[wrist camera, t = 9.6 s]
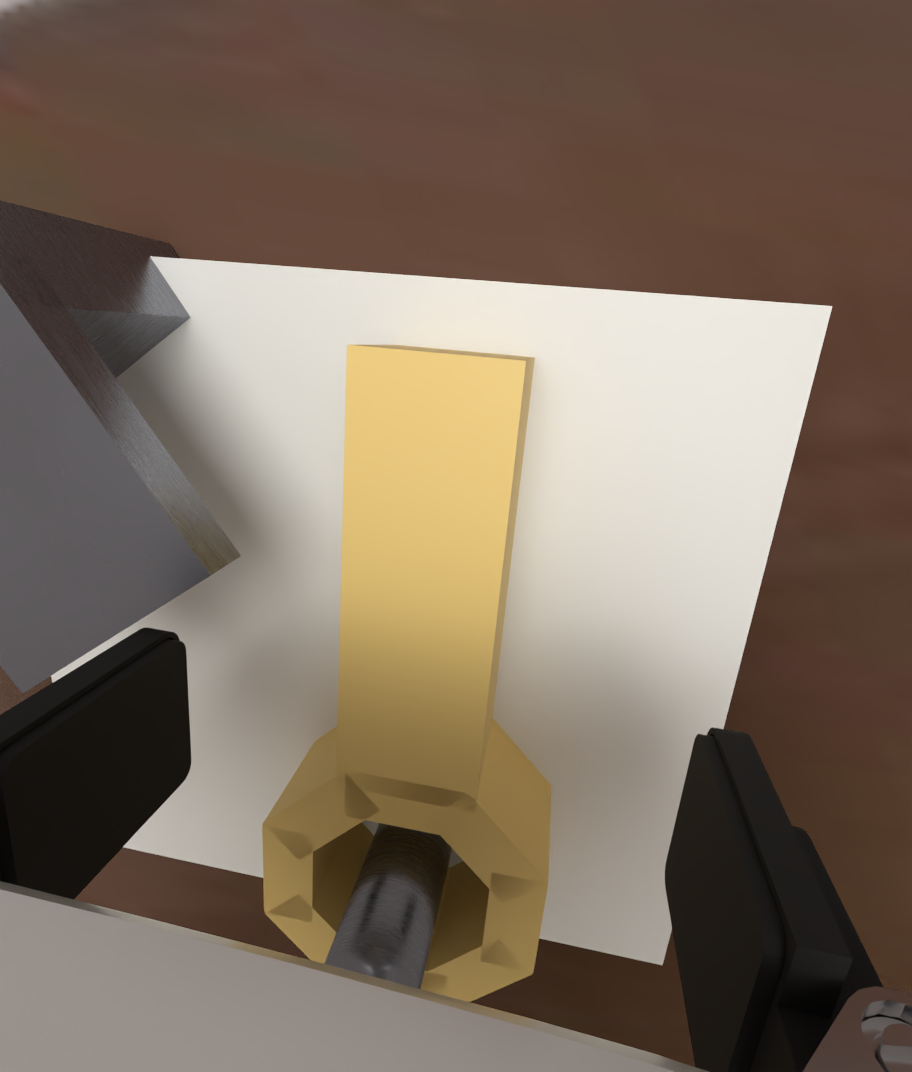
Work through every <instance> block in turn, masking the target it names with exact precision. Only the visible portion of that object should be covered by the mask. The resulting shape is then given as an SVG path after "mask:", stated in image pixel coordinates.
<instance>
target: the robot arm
mask: <svg viewBox="0 0 912 1072" xmlns="http://www.w3.org/2000/svg"><path fill="white" fill-rule="evenodd" d="M190 767H191V741H190V720H189V699H188V678H187V657H186V646H185V644H184V643H183V642H182V641H180V639H179V637H178V635H177V634H176V633H174V632H170V631H164V630H159V629H153V628H142V629H140V630H138V631H136V632H135V633H133V634H131V635H130V636H128V637H127V638H125V639H123V640H122V641H120V642H118V643H117V644H115V645H114V646H112V647H110V648H109V649H107V650H105V651H104V652H102V653H101V654H99V655H97V656H96V657H94V658H92V659H91V660H89V661H87V662H86V663H84V664H83V665H81V666H79V667H78V668H76V669H74V670H73V671H71V672H70V673H68V674H66V675H65V676H63V677H61V678H60V679H58V680H57V681H55V682H53V683H52V684H50V685H48V686H47V687H45V688H44V689H42V690H40V691H39V692H37V693H35V694H34V695H32V696H31V697H29V698H27V699H26V700H24V701H22V702H21V703H19V704H17V705H16V706H14V707H13V708H11V709H9V710H8V711H6V712H4V713H3V714H1V715H0V1072H912V996H911V995H908V994H906V993H903V992H901V991H898V990H895V989H889V988H883V986H882V984H881V982H880V980H879V978H878V976H877V973H876V971H875V969H874V967H873V965H872V963H871V961H870V959H869V957H868V955H867V953H866V951H865V949H864V947H863V945H862V943H861V941H860V939H859V937H858V935H857V933H856V931H855V929H854V926H853V924H852V922H851V920H850V918H849V916H848V914H847V912H846V910H845V908H844V906H843V904H842V902H841V900H840V898H839V896H838V894H837V892H836V890H835V888H834V886H833V884H832V882H831V880H830V877H829V875H828V873H827V871H826V869H825V867H824V865H823V863H822V861H821V859H820V857H819V855H818V853H817V851H816V849H815V847H814V845H813V843H812V841H811V839H810V837H809V836H808V834H807V833H806V831H804V830H803V829H801V828H798V827H793V826H791V823H790V821H789V819H788V817H787V815H786V813H785V810H784V808H783V806H782V804H781V802H780V800H779V797H778V795H777V793H776V791H775V789H774V787H773V784H772V782H771V780H770V778H769V776H768V774H767V772H766V769H765V767H764V765H763V763H762V761H761V759H760V756H759V754H758V752H757V750H756V748H755V746H754V743H753V741H752V739H751V737H750V736H749V734H746V733H742V732H736V731H730V730H725V729H719V728H713V727H712V728H710V729H709V731H708V733H707V735H702V734H697V736H696V737H695V740H694V744H693V748H692V753H691V757H690V761H689V765H688V770H687V774H686V778H685V783H684V787H683V791H682V795H681V800H680V804H679V808H678V812H677V817H676V821H675V825H674V830H673V834H672V838H671V842H670V847H669V851H668V855H667V860H666V865H665V888H666V894H667V900H668V906H669V912H670V918H671V924H672V930H673V936H674V942H675V948H676V954H677V960H678V966H679V972H680V977H681V983H682V989H683V995H684V1001H685V1007H686V1013H687V1019H688V1025H689V1031H690V1037H691V1043H692V1049H693V1055H694V1061H695V1066H696V1067H693V1066H690V1065H687V1064H684V1063H681V1062H678V1061H675V1060H672V1059H669V1058H666V1057H663V1056H660V1055H657V1054H654V1053H650V1052H647V1051H643V1050H640V1049H636V1048H633V1047H629V1046H626V1045H622V1044H619V1043H615V1042H612V1041H608V1040H605V1039H601V1038H598V1037H594V1036H591V1035H587V1034H584V1033H580V1032H576V1031H573V1030H569V1029H566V1028H562V1027H559V1026H555V1025H552V1024H548V1023H545V1022H541V1021H538V1020H534V1019H531V1018H527V1017H523V1016H519V1015H516V1014H512V1013H508V1012H504V1011H501V1010H497V1009H493V1008H489V1007H486V1006H482V1005H478V1004H474V1003H470V1002H467V1001H463V1000H459V999H455V998H452V997H448V996H444V995H440V994H437V993H433V992H429V991H425V990H422V989H418V988H414V987H410V986H406V985H403V984H399V983H395V982H391V981H388V980H384V979H380V978H376V977H373V976H369V975H365V974H361V973H358V972H354V971H350V970H346V969H342V968H338V967H335V966H331V965H327V964H323V963H319V962H315V961H311V960H308V959H304V958H300V957H296V956H292V955H288V954H285V953H281V952H277V951H273V950H269V949H265V948H261V947H258V946H254V945H250V944H246V943H242V942H238V941H234V940H230V939H227V938H223V937H219V936H215V935H211V934H207V933H203V932H199V931H195V930H192V929H188V928H184V927H180V926H176V925H172V924H168V923H164V922H161V921H157V920H153V919H149V918H145V917H141V916H137V915H133V914H129V913H125V912H121V911H117V910H113V909H109V908H105V907H101V906H97V905H93V904H89V903H85V902H81V901H77V900H74V899H75V898H76V896H77V895H78V894H79V893H80V892H81V891H82V890H83V889H84V888H85V887H86V886H87V885H88V884H89V883H90V881H91V880H92V879H93V878H94V877H95V876H96V875H97V874H98V873H99V872H100V871H101V870H102V869H103V868H104V867H105V865H106V864H107V863H108V862H109V861H110V860H111V859H112V858H113V857H114V856H115V855H116V854H117V853H118V852H119V850H120V849H121V848H122V847H123V846H124V845H125V844H126V843H127V842H128V841H129V840H130V839H131V838H132V837H133V835H134V834H135V833H136V832H137V831H138V830H139V829H140V828H141V827H142V826H143V825H144V824H145V823H146V822H147V820H148V819H149V818H150V817H151V816H152V815H153V814H154V813H155V812H156V811H157V810H158V809H159V808H160V807H161V805H162V804H163V803H164V802H165V801H166V800H167V799H168V798H169V797H170V796H171V795H172V794H173V793H174V792H175V790H176V789H177V788H178V787H179V786H180V785H181V784H182V783H183V782H184V780H185V779H186V777H187V775H188V773H189V771H190Z"/></svg>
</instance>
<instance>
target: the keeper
mask: <svg viewBox="0 0 912 1072" xmlns="http://www.w3.org/2000/svg"><path fill="white" fill-rule="evenodd" d="M150 256H153V257H166V258H179V257H178V256H177V254H176V253H175V251H174V250H173V248H172V247H171V245H170V244H168V243H165V242H161V241H157V240H153V239H149V238H145V237H141V236H137V235H133V234H129V233H125V232H121V231H118V230H114V229H110V228H106V227H102V226H98V225H94V224H90V223H86V222H82V221H78V220H74V219H71V218H67V217H63V216H59V215H55V214H51V213H47V212H43V211H39V210H35V209H31V208H27V207H24V206H20V205H16V204H12V203H8V202H4V201H0V666H1V667H2V669H3V670H4V671H5V672H6V673H7V675H8V676H9V677H10V678H11V680H12V681H13V682H14V683H15V685H16V686H17V687H18V688H19V689H20V691H21V692H22V693H24V692H26V691H27V690H29V689H30V688H32V687H34V686H35V685H37V684H38V683H40V682H42V681H43V680H45V679H46V678H48V677H50V676H51V675H53V674H54V673H56V672H58V671H59V670H61V669H62V668H64V667H66V666H67V665H69V664H70V663H72V662H74V661H75V660H77V659H78V658H80V657H82V656H83V655H85V654H86V653H88V652H90V651H91V650H93V649H94V648H96V647H98V646H99V645H101V644H102V643H104V642H106V641H107V640H109V639H110V638H112V637H113V636H115V635H117V634H118V633H120V632H121V631H123V630H125V629H126V628H128V627H129V626H131V625H133V624H134V623H136V622H137V621H139V620H141V619H142V618H144V617H145V616H147V615H149V614H150V613H152V612H153V611H155V610H157V609H158V608H160V607H161V606H163V605H165V604H166V603H168V602H169V601H171V600H173V599H174V598H176V597H177V596H179V595H181V594H182V593H184V592H185V591H187V590H189V589H190V588H192V587H193V586H195V585H197V584H198V583H200V582H201V581H203V580H205V579H206V578H208V577H209V576H211V575H212V574H214V573H216V572H217V571H219V570H220V569H222V568H223V567H225V566H226V565H228V564H229V563H231V562H232V561H234V560H236V559H237V558H239V557H240V556H241V555H240V554H239V552H238V551H237V549H236V548H235V547H234V545H233V544H232V542H231V541H230V540H229V538H228V537H227V535H226V534H225V532H224V531H223V530H222V528H221V527H220V525H219V524H218V523H217V521H216V520H215V518H214V517H213V515H212V514H211V513H210V511H209V510H208V508H207V507H206V506H205V504H204V503H203V501H202V500H201V498H200V497H199V496H198V494H197V493H196V491H195V490H194V489H193V487H192V486H191V484H190V483H189V481H188V480H187V479H186V477H185V476H184V474H183V473H182V472H181V470H180V469H179V467H178V466H177V464H176V463H175V462H174V460H173V459H172V457H171V456H170V455H169V453H168V452H167V450H166V449H165V447H164V446H163V445H162V443H161V442H160V440H159V439H158V438H157V436H156V435H155V433H154V432H153V430H152V429H151V428H150V426H149V425H148V423H147V422H146V421H145V419H144V418H143V416H142V415H141V413H140V412H139V411H138V409H137V408H136V406H135V405H134V404H133V402H132V401H131V399H130V398H129V396H128V395H127V394H126V392H125V391H124V389H123V388H122V387H121V385H120V384H119V382H118V381H117V379H116V378H117V377H118V376H119V375H120V374H122V373H123V372H124V371H125V370H127V369H128V368H129V367H130V366H132V365H133V364H134V363H135V362H136V361H138V360H139V359H140V358H141V357H143V356H144V355H145V354H146V353H148V352H149V351H150V350H151V349H152V348H154V347H155V346H156V345H157V344H159V343H160V342H161V341H162V340H164V339H165V338H166V337H167V336H168V335H170V334H171V333H172V332H173V331H175V330H176V329H177V328H178V327H180V326H181V325H182V324H183V323H184V322H186V321H187V320H188V319H189V318H191V317H190V316H189V314H188V313H187V311H186V310H185V308H184V307H183V305H182V304H181V302H180V301H179V299H178V298H177V296H176V295H175V293H174V292H173V290H172V289H171V287H170V286H169V284H168V283H167V281H166V280H165V278H164V277H163V275H162V274H161V272H160V271H159V269H158V268H157V266H156V265H155V263H154V262H153V260H152V259H151V257H150Z"/></svg>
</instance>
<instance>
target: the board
mask: <svg viewBox="0 0 912 1072" xmlns="http://www.w3.org/2000/svg"><path fill="white" fill-rule="evenodd" d="M150 257H151V259H152V260H153V262H154V263H155V265H156V266H157V268H158V269H159V271H160V272H161V274H162V275H163V277H164V278H165V280H166V281H167V283H168V284H169V286H170V287H171V289H172V290H173V292H174V293H175V295H176V296H177V298H178V299H179V301H180V302H181V304H182V305H183V307H184V308H185V310H186V311H187V313H188V314H189V316H190V317H191V318H189V319H188V320H187V321H186V322H184V323H183V324H182V325H181V326H180V327H178V328H177V329H176V330H175V331H173V332H172V333H171V334H170V335H168V336H167V337H166V338H165V339H164V340H162V341H161V342H160V343H159V344H157V345H156V346H155V347H154V348H152V349H151V350H150V351H149V352H148V353H146V354H145V355H144V356H143V357H141V358H140V359H139V360H138V361H136V362H135V363H134V364H133V365H132V366H130V367H129V368H128V369H127V370H125V371H124V372H123V373H122V374H120V375H119V376H118V377H117V378H116V379H117V381H118V382H119V384H120V385H121V387H122V388H123V389H124V391H125V392H126V394H127V395H128V396H129V398H130V399H131V401H132V402H133V404H134V405H135V406H136V408H137V409H138V411H139V412H140V413H141V415H142V416H143V418H144V419H145V421H146V422H147V423H148V425H149V426H150V428H151V429H152V430H153V432H154V433H155V435H156V436H157V438H158V439H159V440H160V442H161V443H162V445H163V446H164V447H165V449H166V450H167V452H168V453H169V455H170V456H171V457H172V459H173V460H174V462H175V463H176V464H177V466H178V467H179V469H180V470H181V472H182V473H183V474H184V476H185V477H186V479H187V480H188V481H189V483H190V484H191V486H192V487H193V489H194V490H195V491H196V493H197V494H198V496H199V497H200V498H201V500H202V501H203V503H204V504H205V506H206V507H207V508H208V510H209V511H210V513H211V514H212V515H213V517H214V518H215V520H216V521H217V523H218V524H219V525H220V527H221V528H222V530H223V531H224V532H225V534H226V535H227V537H228V538H229V540H230V541H231V542H232V544H233V545H234V547H235V548H236V549H237V551H238V552H239V554H240V555H241V556H240V557H239V558H237V559H236V560H234V561H232V562H231V563H229V564H228V565H226V566H225V567H223V568H222V569H220V570H219V571H217V572H216V573H214V574H212V575H211V576H209V577H208V578H206V579H205V580H203V581H201V582H200V583H198V584H197V585H195V586H193V587H192V588H190V589H189V590H187V591H185V592H184V593H182V594H181V595H179V596H177V597H176V598H174V599H173V600H171V601H169V602H168V603H166V604H165V605H163V606H161V607H160V608H158V609H157V610H155V611H153V612H152V613H150V614H149V615H147V616H145V617H144V618H142V619H141V620H139V621H137V622H136V623H134V624H133V625H131V626H129V627H128V628H126V629H125V630H123V631H121V632H120V633H118V634H117V635H115V636H113V637H112V638H110V639H109V640H107V641H106V642H104V643H102V644H101V645H99V646H98V647H96V648H94V649H93V650H91V651H90V652H88V653H86V654H85V655H83V656H82V657H80V658H78V659H77V660H75V661H74V662H72V663H70V664H69V665H67V666H66V667H64V668H62V669H61V670H59V671H58V672H56V673H54V674H53V675H51V678H52V683H53V682H55V681H57V680H58V679H60V678H61V677H63V676H65V675H66V674H68V673H70V672H71V671H73V670H74V669H76V668H78V667H79V666H81V665H83V664H84V663H86V662H87V661H89V660H91V659H92V658H94V657H96V656H97V655H99V654H101V653H102V652H104V651H105V650H107V649H109V648H110V647H112V646H114V645H115V644H117V643H118V642H120V641H122V640H123V639H125V638H127V637H128V636H130V635H131V634H133V633H135V632H136V631H138V630H140V629H142V628H153V629H159V630H164V631H170V632H174V633H176V634H177V635H178V637H179V639H180V641H182V642H183V643H184V644H185V646H186V657H187V678H188V699H189V720H190V741H191V767H190V771H189V773H188V775H187V777H186V779H185V780H184V782H183V783H182V784H181V785H180V786H179V787H178V788H177V789H176V790H175V792H174V793H173V794H172V795H171V796H170V797H169V798H168V799H167V800H166V801H165V802H164V803H163V804H162V805H161V807H160V808H159V809H158V810H157V811H156V812H155V813H154V814H153V815H152V816H151V817H150V818H149V819H148V820H147V822H146V823H145V824H144V825H143V826H142V827H141V828H140V829H139V830H138V831H137V832H136V833H135V834H134V835H133V837H132V838H131V839H130V840H129V841H128V842H127V843H126V844H125V845H124V846H123V847H124V848H129V849H134V850H138V851H143V852H147V853H152V854H156V855H161V856H166V857H170V858H175V859H179V860H184V861H188V862H193V863H198V864H202V865H207V866H211V867H216V868H220V869H225V870H229V871H234V872H239V873H243V874H248V875H252V876H257V877H261V878H263V839H262V824H263V822H264V821H265V819H266V818H267V816H268V814H269V813H270V811H271V810H272V808H273V807H274V805H275V803H276V802H277V800H278V799H279V797H280V795H281V794H282V792H283V791H284V789H285V788H286V786H287V784H288V783H289V781H290V780H291V778H292V777H293V775H294V773H295V772H296V770H297V769H298V767H299V765H300V764H301V762H302V761H303V759H304V758H305V756H306V754H307V753H308V751H309V750H310V748H311V746H312V745H313V743H314V742H315V741H316V740H317V739H319V738H320V737H322V736H323V735H325V734H326V733H327V732H329V731H330V730H332V729H333V728H335V727H336V726H337V722H338V682H339V642H340V601H341V561H342V521H343V481H344V441H345V401H346V360H347V345H404V346H415V347H426V348H437V349H448V350H460V351H471V352H482V353H493V354H504V355H515V356H526V357H535V361H534V370H533V378H532V387H531V395H530V404H529V412H528V421H527V429H526V438H525V446H524V454H523V463H522V471H521V480H520V488H519V497H518V505H517V514H516V522H515V531H514V539H513V548H512V556H511V565H510V573H509V582H508V590H507V599H506V607H505V616H504V624H503V633H502V641H501V650H500V658H499V667H498V675H497V684H496V692H495V701H494V709H493V719H494V720H495V721H496V722H497V723H498V725H499V726H500V727H501V728H502V729H503V730H504V731H505V733H506V734H507V735H508V736H509V737H510V738H511V740H512V741H513V742H514V743H515V744H516V745H517V746H518V748H519V749H520V750H521V751H522V752H523V753H524V755H525V756H526V757H527V758H528V759H529V760H530V761H531V763H532V764H533V765H534V766H535V767H536V768H537V769H538V771H539V772H540V773H541V774H542V775H543V776H544V778H545V779H546V780H547V781H548V782H549V783H550V784H551V815H550V846H549V878H548V889H547V894H546V900H545V906H544V912H543V918H542V924H541V930H540V936H539V938H540V939H544V940H549V941H554V942H558V943H563V944H567V945H572V946H576V947H581V948H585V949H590V950H595V951H599V952H604V953H608V954H613V955H617V956H622V957H627V958H631V959H636V960H640V961H645V962H649V963H654V964H659V965H663V962H664V958H665V954H666V950H667V946H668V942H669V938H670V934H671V930H672V924H671V918H670V912H669V906H668V900H667V894H666V888H665V865H666V860H667V855H668V851H669V847H670V842H671V838H672V834H673V830H674V825H675V821H676V817H677V812H678V808H679V804H680V800H681V795H682V791H683V787H684V783H685V778H686V774H687V770H688V765H689V761H690V757H691V753H692V748H693V744H694V740H695V737H696V736H697V734H702V735H707V733H708V731H709V729H710V728H712V727H713V728H719V729H724V725H725V721H726V717H727V713H728V709H729V705H730V701H731V698H732V694H733V690H734V686H735V682H736V678H737V674H738V670H739V667H740V663H741V659H742V655H743V651H744V647H745V643H746V639H747V635H748V632H749V628H750V624H751V620H752V616H753V612H754V608H755V604H756V601H757V597H758V593H759V589H760V585H761V581H762V577H763V573H764V569H765V566H766V562H767V558H768V554H769V550H770V546H771V542H772V538H773V535H774V531H775V527H776V523H777V519H778V515H779V511H780V507H781V504H782V500H783V496H784V492H785V488H786V484H787V480H788V476H789V472H790V469H791V465H792V461H793V457H794V453H795V449H796V445H797V441H798V438H799V434H800V430H801V426H802V422H803V418H804V414H805V410H806V406H807V403H808V399H809V395H810V391H811V387H812V383H813V379H814V375H815V372H816V368H817V364H818V360H819V356H820V352H821V348H822V344H823V340H824V337H825V333H826V329H827V325H828V321H829V317H830V313H831V309H832V306H822V305H808V304H795V303H781V302H767V301H754V300H740V299H726V298H713V297H699V296H685V295H672V294H658V293H644V292H631V291H617V290H603V289H590V288H576V287H562V286H549V285H535V284H521V283H508V282H494V281H480V280H467V279H453V278H440V277H426V276H412V275H399V274H385V273H371V272H358V271H344V270H330V269H317V268H303V267H289V266H276V265H262V264H248V263H235V262H221V261H207V260H194V259H180V258H166V257H153V256H150ZM362 823H363V824H364V825H365V826H366V827H367V828H368V829H369V831H370V832H371V833H372V834H373V835H375V832H376V830H377V827H378V825H379V823H377V822H372V821H367V820H364V821H363V822H362ZM462 861H463V860H462V858H461V857H460V856H459V855H458V854H457V853H456V852H455V851H454V850H453V849H452V852H451V856H450V861H449V865H448V867H450V868H451V867H452V866H454V865H456V864H458V863H460V862H462Z"/></svg>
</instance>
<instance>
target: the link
mask: <svg viewBox="0 0 912 1072" xmlns="http://www.w3.org/2000/svg"><path fill="white" fill-rule="evenodd" d="M534 361H535V357H526V356H515V355H504V354H493V353H482V352H471V351H460V350H448V349H437V348H426V347H415V346H404V345H347V360H346V401H345V441H344V481H343V521H342V561H341V601H340V642H339V682H338V722H337V726H336V727H335V728H333V729H332V730H330V731H329V732H327V733H326V734H325V735H323V736H322V737H320V738H319V739H317V740H316V741H315V742H314V743H313V745H312V746H311V748H310V750H309V751H308V753H307V754H306V756H305V758H304V759H303V761H302V762H301V764H300V765H299V767H298V769H297V770H296V772H295V773H294V775H293V777H292V778H291V780H290V781H289V783H288V784H287V786H286V788H285V789H284V791H283V792H282V794H281V795H280V797H279V799H278V800H277V802H276V803H275V805H274V807H273V808H272V810H271V811H270V813H269V814H268V816H267V818H266V819H265V821H264V822H263V824H262V839H263V885H264V912H265V914H266V915H267V916H268V917H269V918H270V919H271V920H272V921H273V922H274V923H275V924H276V925H277V926H278V927H279V928H280V929H281V930H282V931H283V932H284V933H285V934H286V935H287V936H288V938H289V939H290V940H291V941H292V942H293V943H294V944H295V945H296V946H297V947H298V948H299V949H300V950H301V951H302V952H303V953H304V954H305V955H306V956H307V957H308V958H309V959H310V960H311V961H315V962H319V963H323V964H324V963H325V961H326V958H327V956H328V953H329V950H330V948H331V945H332V943H333V940H334V938H335V935H336V932H337V930H338V927H339V925H340V922H341V920H342V917H343V914H344V912H345V909H346V907H347V904H348V902H349V899H350V897H351V894H352V891H353V889H354V886H355V884H356V881H357V879H358V876H359V873H360V871H361V868H362V866H363V863H364V861H365V858H366V855H367V853H368V850H369V848H370V845H371V843H372V840H373V837H374V835H373V834H372V833H371V832H370V831H369V829H368V828H367V827H366V826H365V825H364V824H363V823H362V822H363V821H364V820H367V821H372V822H377V823H382V824H387V825H392V826H397V827H402V828H407V829H412V830H417V831H422V832H427V833H432V834H437V835H441V837H442V838H443V839H444V840H445V841H446V842H447V843H448V844H449V845H450V846H451V847H452V849H453V850H454V851H455V852H456V853H457V854H458V855H459V856H460V857H461V858H462V860H463V861H462V862H460V863H458V864H456V865H454V866H452V867H451V868H450V867H448V870H447V874H446V878H445V883H444V887H443V892H442V896H441V901H440V905H439V910H438V914H437V918H436V923H435V927H434V932H433V936H432V941H431V945H430V950H429V954H428V958H427V963H426V967H425V972H424V976H423V981H422V985H421V989H422V990H425V991H429V992H433V993H437V994H440V995H444V996H448V997H452V998H455V999H459V1000H463V1001H467V1002H471V1001H473V1000H475V999H478V998H480V997H482V996H485V995H487V994H489V993H491V992H494V991H496V990H498V989H500V988H503V987H505V986H507V985H509V984H512V983H514V982H516V981H519V980H521V979H523V978H525V977H528V976H530V975H532V973H533V972H534V966H535V960H536V954H537V948H538V942H539V936H540V930H541V924H542V918H543V912H544V906H545V900H546V894H547V889H548V878H549V846H550V815H551V784H550V783H549V782H548V781H547V780H546V779H545V778H544V776H543V775H542V774H541V773H540V772H539V771H538V769H537V768H536V767H535V766H534V765H533V764H532V763H531V761H530V760H529V759H528V758H527V757H526V756H525V755H524V753H523V752H522V751H521V750H520V749H519V748H518V746H517V745H516V744H515V743H514V742H513V741H512V740H511V738H510V737H509V736H508V735H507V734H506V733H505V731H504V730H503V729H502V728H501V727H500V726H499V725H498V723H497V722H496V721H495V720H494V719H493V709H494V701H495V692H496V684H497V675H498V667H499V658H500V650H501V641H502V633H503V624H504V616H505V607H506V599H507V590H508V582H509V573H510V565H511V556H512V548H513V539H514V531H515V522H516V514H517V505H518V497H519V488H520V480H521V471H522V463H523V454H524V446H525V438H526V429H527V421H528V412H529V404H530V395H531V387H532V378H533V370H534Z"/></svg>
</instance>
